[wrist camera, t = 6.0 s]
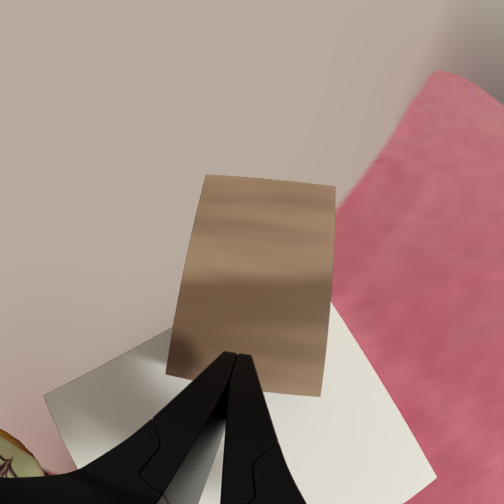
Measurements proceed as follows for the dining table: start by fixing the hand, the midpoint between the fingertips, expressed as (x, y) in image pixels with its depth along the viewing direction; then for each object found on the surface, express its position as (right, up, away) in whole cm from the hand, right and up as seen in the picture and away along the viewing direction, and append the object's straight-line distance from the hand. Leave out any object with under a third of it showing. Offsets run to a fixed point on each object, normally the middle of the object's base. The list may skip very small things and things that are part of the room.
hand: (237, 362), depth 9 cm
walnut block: (0, -3, +4) cm, 5 cm away
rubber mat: (-1, -8, +5) cm, 9 cm away
